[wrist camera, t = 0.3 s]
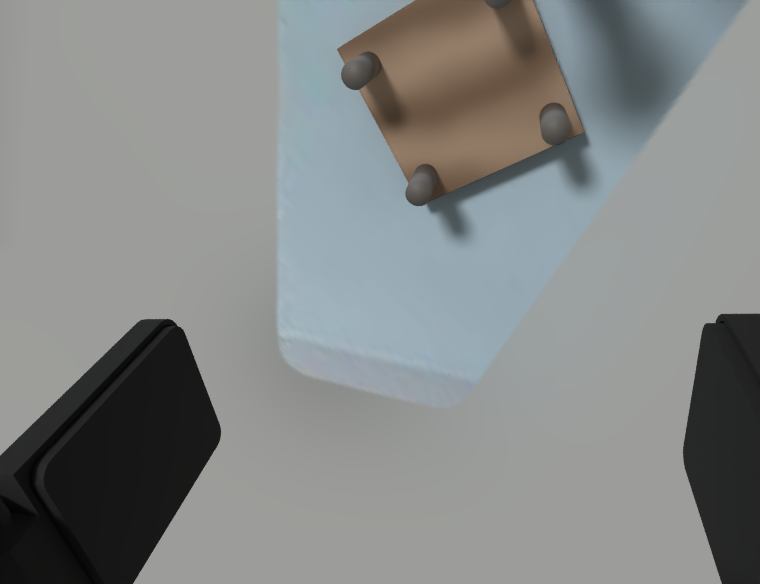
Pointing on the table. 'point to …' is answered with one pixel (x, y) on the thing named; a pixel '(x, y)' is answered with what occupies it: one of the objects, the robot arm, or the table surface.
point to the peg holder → (460, 89)
